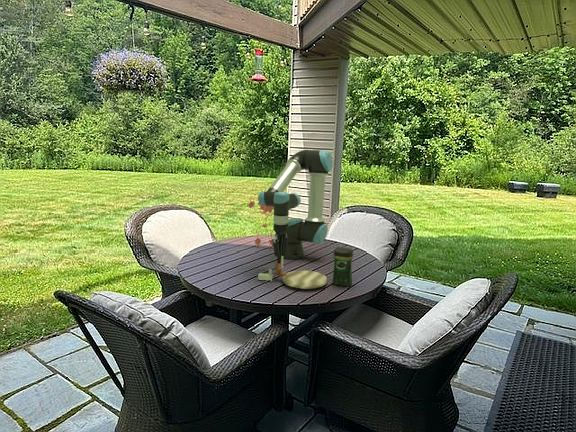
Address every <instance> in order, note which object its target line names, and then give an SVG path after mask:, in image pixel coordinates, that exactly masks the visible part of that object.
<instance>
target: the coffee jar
mask: <svg viewBox="0 0 576 432" xmlns="http://www.w3.org/2000/svg"><path fill="white" fill-rule="evenodd" d="M333 259H334V263H333V265H334V267H333V272H332V273H333V274H332V284H334V285H336V286H340V287H341V286H342V287H348V286H351V285H352V283H353V275H352V274H353V273H352V262H353V259H354V250H353V249H352V248H349V247H340V246H337V247H335V248H334V251H333Z"/></svg>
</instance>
